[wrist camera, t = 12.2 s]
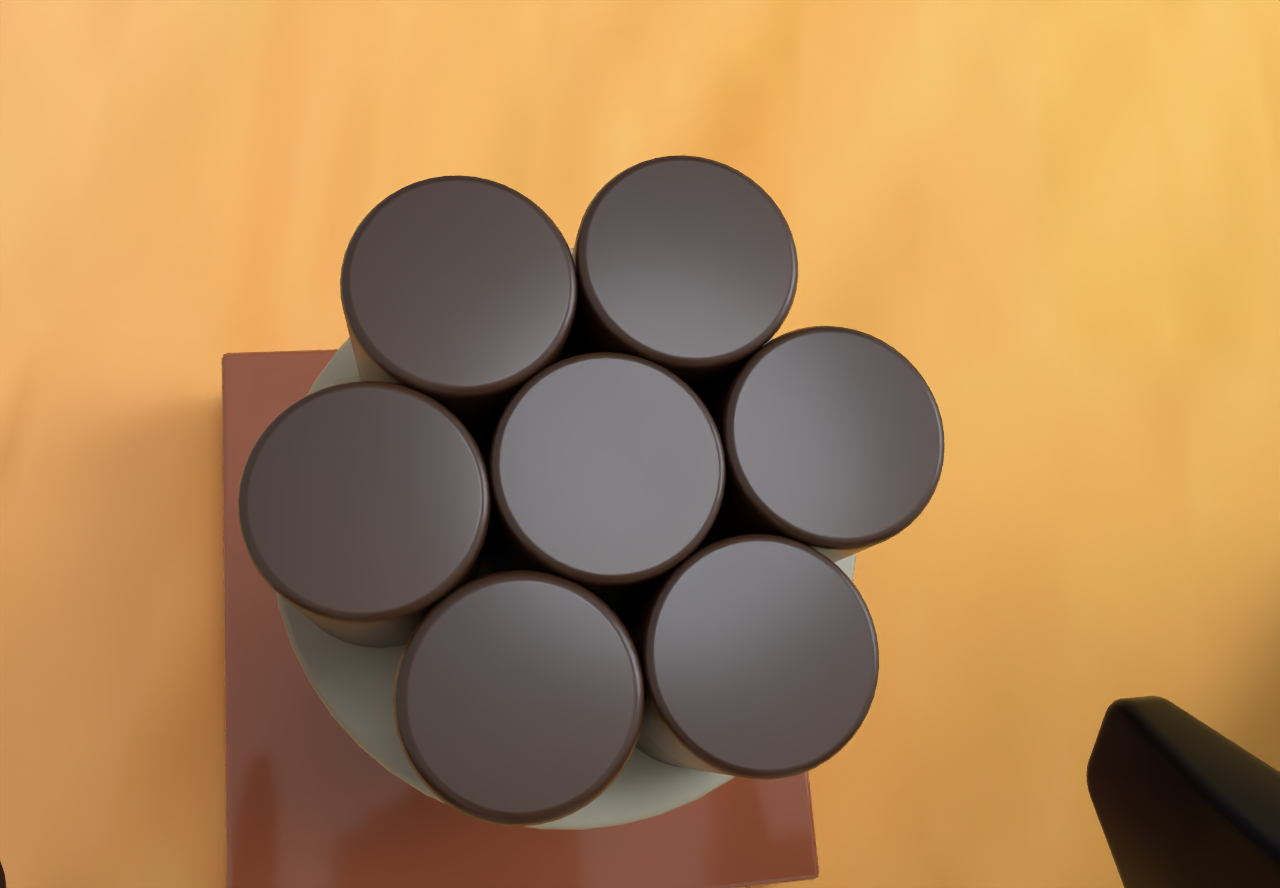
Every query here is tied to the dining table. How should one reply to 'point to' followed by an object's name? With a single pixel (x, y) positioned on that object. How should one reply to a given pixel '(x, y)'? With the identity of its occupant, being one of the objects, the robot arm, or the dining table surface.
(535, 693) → the bundle
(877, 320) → the dining table surface
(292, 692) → the stand
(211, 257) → the dining table surface
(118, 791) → the dining table surface
